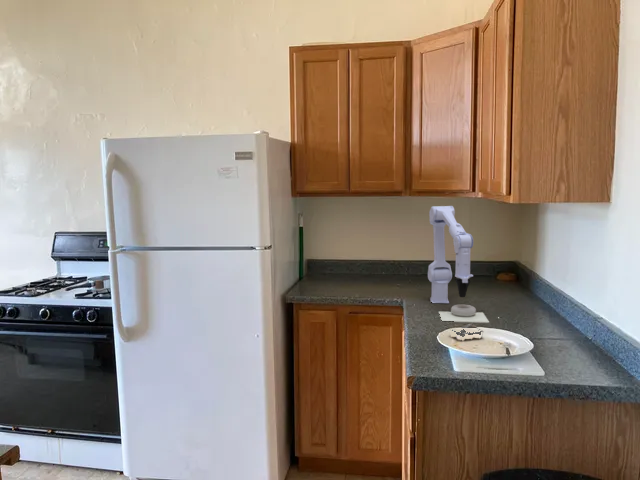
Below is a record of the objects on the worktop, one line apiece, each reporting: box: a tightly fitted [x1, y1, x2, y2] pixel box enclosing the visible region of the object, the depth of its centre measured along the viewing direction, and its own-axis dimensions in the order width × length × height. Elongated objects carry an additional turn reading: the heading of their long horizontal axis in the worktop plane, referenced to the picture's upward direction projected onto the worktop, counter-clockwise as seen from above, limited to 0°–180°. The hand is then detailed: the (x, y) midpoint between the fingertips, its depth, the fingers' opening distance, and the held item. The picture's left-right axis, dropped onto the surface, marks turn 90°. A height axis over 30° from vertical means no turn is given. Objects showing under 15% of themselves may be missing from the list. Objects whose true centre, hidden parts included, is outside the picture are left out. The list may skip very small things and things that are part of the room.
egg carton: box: [452, 323, 484, 337], centre depth 173 cm, size 11×8×4 cm
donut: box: [450, 303, 477, 317], centre depth 201 cm, size 10×3×10 cm
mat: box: [438, 311, 490, 324], centre depth 198 cm, size 14×18×1 cm
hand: (462, 296), depth 200 cm, fingers closed
